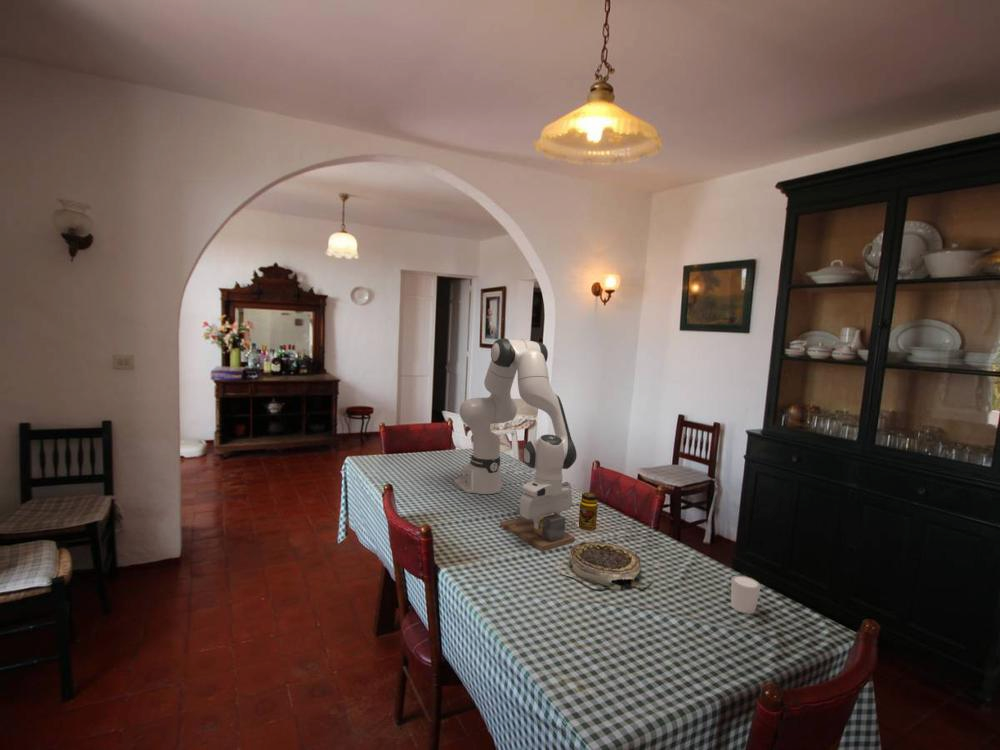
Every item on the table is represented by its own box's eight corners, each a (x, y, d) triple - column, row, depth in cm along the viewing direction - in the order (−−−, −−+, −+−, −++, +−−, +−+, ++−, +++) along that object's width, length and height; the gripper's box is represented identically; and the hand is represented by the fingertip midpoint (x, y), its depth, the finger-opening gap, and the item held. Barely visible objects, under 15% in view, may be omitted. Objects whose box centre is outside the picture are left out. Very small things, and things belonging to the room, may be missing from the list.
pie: (538, 562, 150) (539, 546, 149) (597, 542, 167) (598, 527, 167) (614, 606, 128) (616, 587, 128) (673, 577, 146) (674, 561, 145)
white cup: (732, 597, 135) (735, 572, 134) (760, 607, 131) (763, 581, 130) (725, 607, 130) (728, 581, 129) (754, 618, 125) (757, 591, 125)
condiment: (582, 532, 173) (585, 498, 172) (571, 522, 181) (574, 490, 180) (601, 530, 175) (604, 497, 174) (590, 521, 183) (592, 489, 182)
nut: (533, 531, 166) (534, 515, 165) (546, 528, 169) (547, 512, 169) (541, 536, 163) (543, 519, 162) (554, 532, 166) (555, 516, 166)
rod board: (500, 526, 174) (501, 502, 173) (530, 518, 182) (532, 496, 181) (542, 551, 156) (544, 524, 155) (574, 541, 165) (576, 516, 164)
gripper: (564, 478, 173) (561, 517, 174) (518, 487, 160) (515, 529, 162) (577, 483, 168) (574, 523, 169) (531, 493, 155) (528, 536, 157)
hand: (545, 526), depth 165 cm, fingers closed on nut, 6 cm apart
